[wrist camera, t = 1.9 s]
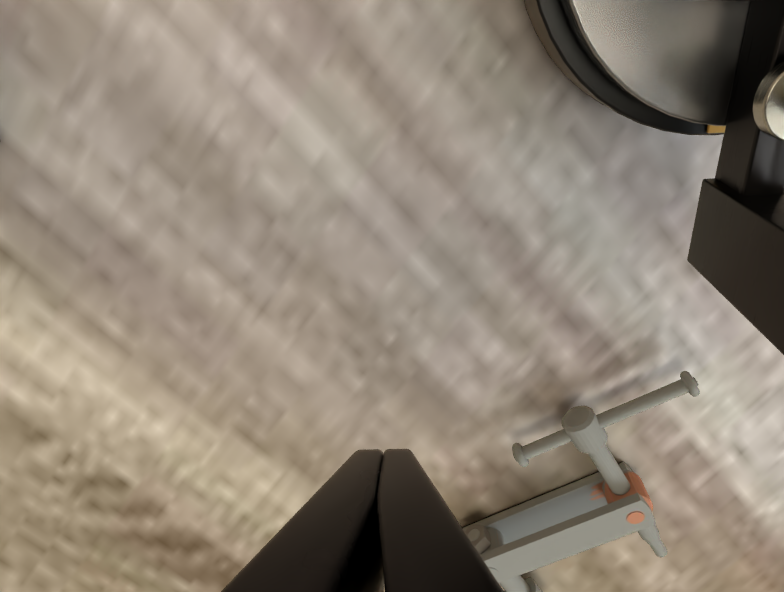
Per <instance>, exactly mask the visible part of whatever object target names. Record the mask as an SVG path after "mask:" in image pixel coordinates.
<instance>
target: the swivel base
mask: <svg viewBox="0 0 784 592" xmlns="http://www.w3.org/2000/svg"><path fill="white" fill-rule="evenodd" d="M524 2H525V6H526V10H527V12H528V15H529V17H530V20H531V22H532V24H533V27H534V29H535V32H536V34H537V36H538V37H539V39H540V41H541V43H542V44H543V46H544V48H545V49H546V51H547V53H548V55H549V56H550V57H551V59H552V60H553V61H554V62H555V64H556V65H557V66H558V67H559V69H560V70H561V71H562V72H563V74H564V75H566V76H567V77H568V78H569V79H570V80H571V81H572V82H573V83H574V84H575V85H576V86H577V87H578V88H580V89H581V90H582V91H584V92H585V93H586V94H588V95H589V96H591V97H592V98H594V99H595V100H597V101H598V102H600V103H602V104H603V105H605V106H607V107H608V108H610V109H612V110H613V111H615V112H617V113H619V114H621V115H623V116H625V117H627V118H629V119H631V120H633V121H636V122H638V123H640V124H643V125H646V126H649V127H653V128H656V129H659V130H662V131H667V132H674V133H681V134H687V135H721V134H724V132H725V127H726V126H713V125H706V124H700V123H693V122H689V121H686V120H683V119H679V118H676V117H673V116H670V115H667V114H665V113H663V112H661V111H659V110H657V109H655V108H652V107H650V106H648V105H646V104H644V103H642V102H640V101H638V100H636V99H634V98H633V97H631V96H630V95H628V94H627V93H626V92H624V91H623V90H621V89H620V88H618V87H617V86H616V85H615V84H614V83H612V82H611V81H610V80H609V79H608V78H607V77H606V76H605V75H604V74H603V73H602V72H601V71H600V70H599V69H598V68H597V66H596V65H595V64H594V63H593V61H592V60H591V59H590V57H589V56H588V55H587V54H586V52H585V51H584V49H583V48H582V46H581V44H580V42H579V41H578V39H577V37H576V35H575V33H574V32H573V30H572V28H571V25H570V23H569V20H568V18H567V15H566V13H565V10H564V7H563V5H562V2H561V0H524Z"/></svg>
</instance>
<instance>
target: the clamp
mask: <svg viewBox="0 0 784 592" xmlns="http://www.w3.org/2000/svg"><path fill="white" fill-rule="evenodd" d="M680 377H681V380H678V381H676V382H674V383H671V384H669V385H667V386H664V387H662V388H660V389H657V390H655V391H652V392H650V393H648V394H645V395H643V396H641V397H638V398H636V399H634V400H631V401H629V402H627V403H624V404H622V405H619V406H617V407H615V408H612V409H610V410H608V411H605V412H603V413H601V414H598V415H595V413H594V411H593V410H592V409H591V408H590V407H587V406H576V407H573V408H571V409H570V410H568V411H567V412H566V414H565V415H564V416H563V418H562V426H563V428H564V429H563V430H561V431H558V432H556V433H553V434H551V435H549V436H546V437H544V438H542V439H539V440H537V441H535V442H532V443H530V444H528V445H525V446H523V447H522V446H521V444H519V443H515V444H513V447H512V450H513V456H514V458H515V460H516V461H517V462H518V463H519V465H520V466H522V467H526V466H528V463H529V461H528V459H530V458H532V457H535V456H537V455H539V454H542V453H544V452H547V451H549V450H551V449H554V448H556V447H559V446H561V445H563V444H566V443H568V442H571V441H572V442H573V444H574V445H575V447H576V448H577V450H579V451H580V452H582V453H588V455H589V456H590V458H591V459H592V461H593V462H594V464H595V466H596V467H597V469H598V470H599V472H598V473H595V474H593V475H590V476H588V477H586V478H583V479H581V480H578V481H576V482H573V483H571V484H569V485H566V486H564V487H561V488H559V489H556V490H554V491H551V492H549V493H547V494H544V495H542V496H539V497H537V498H534V499H532V500H530V501H527V502H525V503H522V504H520V505H517V506H515V507H512V508H510V509H508V510H505V511H503V512H500V513H498V514H495V515H493V516H491V517H488V518H486V519H483V520H481V521H478V522H476V523H473V524H471V525H469V526H466V527H464V528H462V529H463V530H464V532H465V533H466V535H467V536H468V538H469V539H470V541H471V542H472V544H473V545H474V547H475V548H476V550H477V551H478V553H479V554H480V556H481V557H482V559H483V560H484V562H485V563H486V565H487V566H488V568H489V569H490V571H491V572H492V574H493V576H494V577H495V579H496V580H497V582H498V583H499V584H500V585H501V586H502V587H503V589H504V592H542V590H541V589H540V588H539V587H538V585H537V584H536V583H535V582H534V580H533V579H532V578H531V577H530V578H527V579H525V580H524V579H523V578H522V577H521V575H522V574H524V573H527V572H530V571H532V570H535V569H538V568H541V567H543V566H546V565H549V564H551V563H554V562H557V561H559V560H562V559H565V558H567V557H570V556H573V555H575V554H578V553H581V552H583V551H586V550H589V549H591V548H594V547H597V546H600V545H602V544H605V543H608V542H610V541H613V540H616V539H618V538H621V537H624V536H626V535H629V534H632V533H634V532H637V531H638V533H639V535H640V536H641V538H642V539H643V540H645V541H646V542H647V543H648V544H649V545H650V546H651V548H652V549H653V551H654V552H655V554H656V555H657V556H658V557H664V556H666V555H667V549H666V547H665V546H664V544H663V543H662V541H661V539H660V536H659V531H658V529H657V527H656V522H655V518H654V516H653V513H652V511H653V504H652V502H651V500H650V498H649V495H648V493H647V491H646V489H645V487H644V485H643V483H642V481H641V478H640V477H639V476H638V475H637V474H635V473H633V471H632V470H631V469H630V467H629V466H628V465H627V464H626V463H625V462H622V463H620V464H617V462H616V460H615V459H614V457H613V456H612V454H611V452H610V451H609V449H608V447H607V446H606V442H607V437H608V436H607V433H606V431H605V429H604V427H607V426H609V425H611V424H614V423H616V422H619V421H621V420H624V419H626V418H628V417H631V416H633V415H636V414H638V413H640V412H643V411H645V410H648V409H650V408H652V407H655V406H657V405H660V404H662V403H664V402H667V401H669V400H672V399H674V398H676V397H679V396H681V395H684V394H686V393H688V392H689V393H690V394H691V395H692V396H694V397H696V396H698V395H699V394H700V391H699V388H698V383H697V381H696V380H695V378H694V377H693V378H692V376H691V375H690V373H689V372H687V371H683V372H681V374H680Z"/></svg>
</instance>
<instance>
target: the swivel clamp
mask: <svg viewBox="0 0 784 592" xmlns="http://www.w3.org/2000/svg"><path fill="white" fill-rule="evenodd" d="M561 2H562V5H563V7H564V10H565V13H566V15H567V18H568V20H569V23H570V25H571V28H572V30H573V32H574V33H575V35H576V37H577V39H578V41H579V42H580V44H581V46H582V48H583V49H584V51H585V52H586V54H587V55H588V56H589V57H590V59H591V60H592V61H593V63H594V64H595V65H596V66H597V68H598V69H599V70H600V71H601V72H602V73H603V74H604V75H605V76H606V77H607V78H608V79H609V80H610V81H611V82H612V83H614V84H615V85H616V86H617V87H618V88H620V89H621V90H623V91H624V92H626V93H627V94H628V95H630V96H631V97H633V98H634V99H636V100H638V101H640V102H642V103H644V104H646V105H648V106H650V107H652V108H655V109H657V110H659V111H661V112H663V113H665V114H667V115H670V116H673V117H676V118H679V119H683V120H686V121H689V122H693V123H700V124H706V125H713V126H726V127H725V132H724V137H723V142H722V147H721V152H720V157H719V162H718V167H717V171H716V176H715V179H704V180H703V182H702V187H701V192H700V197H699V202H698V207H697V213H696V218H695V223H694V228H693V233H692V238H691V243H690V249H689V254H688V259H687V260H688V262H689V263H690V264H691V265H692V266H693V267H694V268H695V269H696V270H697V271H698V272H699V273H700V274H702V275H703V276H704V277H705V278H706V279H707V280H708V281H709V282H710V283H711V284H712V285H713V286H714V287H715V288H716V289H717V290H718V291H719V292H720V293H721V294H722V295H723V296H724V297H725V298H726V299H727V300H728V301H729V302H730V303H731V304H732V305H733V306H734V307H735V308H736V309H737V310H738V311H739V312H740V313H741V314H742V315H744V316H745V317H746V318H747V319H748V320H749V321H750V322H751V323H752V324H753V325H754V326H755V327H756V328H757V329H758V330H759V331H760V332H761V333H762V334H763V335H764V336H765V337H766V338H767V339H768V340H769V341H770V342H771V343H772V344H773V345H774V346H775V347H776V348H777V349H778V350H779V351H780V352H781V353H782V354H783V355H784V0H561Z"/></svg>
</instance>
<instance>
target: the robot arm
mask: <svg viewBox="0 0 784 592" xmlns="http://www.w3.org/2000/svg"><path fill="white" fill-rule="evenodd" d="M384 586H385V592H504V591H503V589H502V588H501V586H500V585H499V583H498V582H497V580H496V579H495V577H494V576H493V574H492V572H491V571H490V569H489V568H488V566H487V565H486V563H485V562H484V560H483V559H482V557H481V556H480V554H479V553H478V551H477V550H476V548H475V547H474V545H473V544H472V542H471V541H470V539H469V538H468V536H467V535H466V533H465V532H464V530H463V529H462V527H461V526H460V524H459V523H458V521H457V520H456V518H455V516H454V515H453V513H452V512H451V510H450V509H449V507H448V506H447V504H446V503H445V501H444V500H443V498H442V497H441V495H440V494H439V492H438V491H437V489H436V488H435V486H434V485H433V483H432V482H431V480H430V479H429V477H428V476H427V474H426V473H425V471H424V470H423V468H422V467H421V465H420V464H419V462H418V460H417V459H416V457H415V456H414V454H413V453H412V452H411V451H410V450H409V449H387V450H386V451H385V452H384V454H383V452H382V451H381V450H378V449H374V450H358V451H356V452H355V453H354V454H353V455H352V456H351V457H350V458H349V459H348V460H347V461H346V462H345V463H344V464H343V465H342V466H341V467H340V468H339V469H338V470H337V471H336V472H335V473H334V475H333V476H332V477H331V478H330V479H329V480H328V481H327V482H326V483H325V484H324V485H323V486H322V487H321V488H320V489H319V490H318V491H317V492H316V493H315V494H314V495H313V496H312V497H311V498H310V499H309V501H308V502H307V503H306V504H305V505H304V506H303V507H302V508H301V509H300V510H299V511H298V512H297V513H296V514H295V515H294V516H293V517H292V518H291V519H290V520H289V521H288V522H287V523H286V524H285V526H284V527H283V528H282V529H281V530H280V531H279V532H278V533H277V534H276V535H275V536H274V537H273V538H272V539H271V540H270V541H269V542H268V543H267V544H266V545H265V546H264V547H263V548H262V549H261V551H260V552H259V553H258V554H257V555H256V556H255V557H254V558H253V559H252V560H251V561H250V562H249V563H248V564H247V565H246V566H245V567H244V568H243V569H242V570H241V571H240V572H239V573H238V574H237V575H236V577H235V578H234V579H233V580H232V581H231V582H230V583H229V584H228V585H227V586H226V587H225V588H224V589H223V590H222V591H221V592H384Z"/></svg>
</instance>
